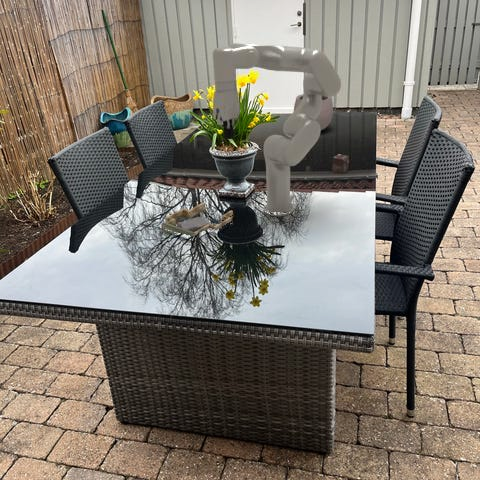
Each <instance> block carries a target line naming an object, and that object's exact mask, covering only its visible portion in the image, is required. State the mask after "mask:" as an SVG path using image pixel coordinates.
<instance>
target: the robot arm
mask: <svg viewBox="0 0 480 480" xmlns="http://www.w3.org/2000/svg"><path fill="white" fill-rule="evenodd" d="M212 65H213V66H212V67H213V78H214V79H213V81H214V92H213V96H212V97H213V100H212V112H213V113H212V115H213V120H215V121H216V122H217V123H216V125H217V126H221V127H222V128H223V138H224V139H227V140H232V139H234V137H235V136H234V133H235V132H234V127H235V122H236V121H237V120H238V119H239V116H240V114H241V113H240V112H241V110H240V109H241V107H240V106H241V105H240V104H241V103H240V98H239V97H240V96H239V92H238V85H237V69H238V70H239V69H240V70H249V69H253V68H259V69H264V70H267V71H274V72H290V73H291V72H292V73H294V72H295V73H306V74H305V75H304V77H303V80H302V87H303V94H304V95H303V99H302V101H301V103H300V104H299V106H298V107H297V108H296V109H295V111H294V110H293V112H292V113H291V114H290V116H289V117H288V118H287V119H286V121H285V122H284V124H283V127H282V131H283V133H284V135H285V136H287V137H285V136H283V135H280V134H272V135H270V136H268V137H267V138H266V139H265V141H264V144H263V155H264V161H265V170H266V177H265V178H266V204H264V206H263V213H264V214H266V215H268V216H272V217H285V216H289V215H291V214H293V212H294V209H295V208H294V205H292V204H291V203H292V201H293V200H294V199H295V197H296V196H295V195H294V194H291V167H294V166H297V164H299V163H300V162H301V161H302V160H303V159H304V158H305V156H306V155H307V154H308V152H310V151H311V149H312V148H313V147H314V146H315V144H316V143H317V142H318V140H319V138H320V135H321V131H322V130H321V128H320V125H319V123H318V122H317V121H316V120H315V119H316V118H317V116H318V115H319V113H320V111H321V107H322V96H325V97H331V98H333V97H335V96H336V95H338V93H340V91H341V87H342V81H341V77H340V75H339V73H338V71H336V69H335V67H334V66H333V64H332V62H331V60H330V59H329V58H328V56H327V55H326V54H325V52H323V51H322V50H320V49H318V48H317V49H316V48H307V47H301V46H300V47H299V46H288V45H286V46H285V45H271V44H270V45H269V44H267V45H266V44H265V45H263V44H262V45H261V44H247V43H238V42H237V43H236V42H235V43H231V44H229V45H228V46H221V47H217V48H214V49H213V50H212ZM267 210H269V211H271V212H286V213H287V214H282V215H274V214H269V213H267V212H265V211H267ZM289 212H290V213H289Z"/></svg>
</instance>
